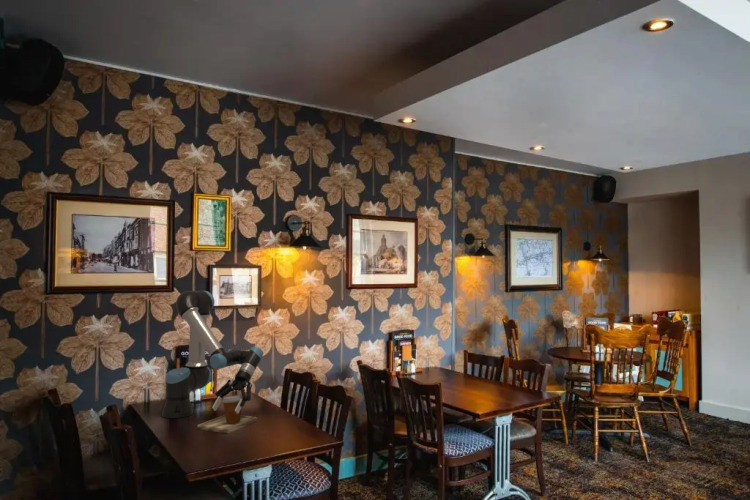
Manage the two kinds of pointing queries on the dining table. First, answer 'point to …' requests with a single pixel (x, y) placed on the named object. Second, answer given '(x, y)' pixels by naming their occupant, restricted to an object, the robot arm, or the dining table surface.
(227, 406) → the disposable coffee cup
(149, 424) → the dining table surface
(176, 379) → the robot arm
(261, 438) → the dining table surface
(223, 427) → the striped beige cloth
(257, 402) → the dining table surface
